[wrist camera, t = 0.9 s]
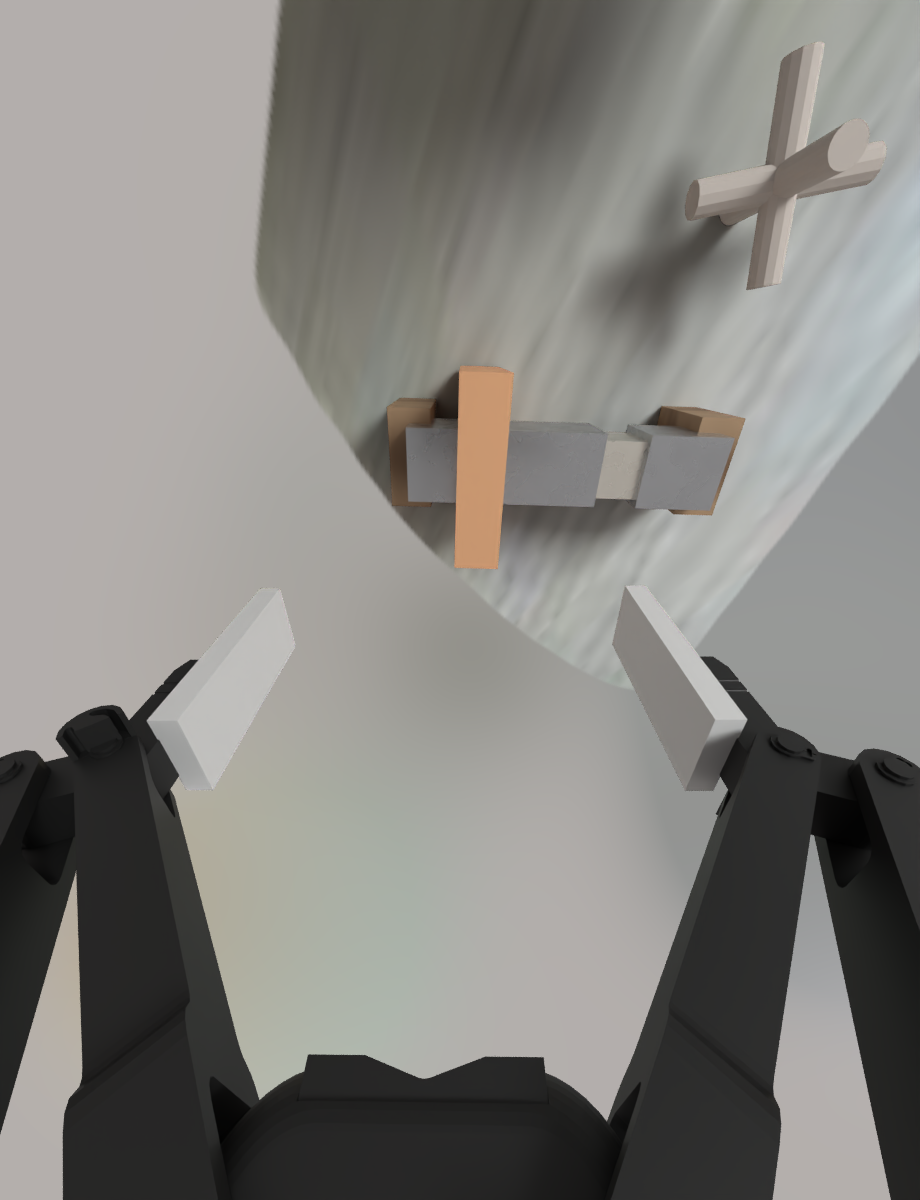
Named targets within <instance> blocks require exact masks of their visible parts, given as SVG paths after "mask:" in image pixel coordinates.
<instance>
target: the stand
mask: <svg viewBox="0 0 920 1200" xmlns="http://www.w3.org/2000/svg"><path fill="white" fill-rule="evenodd" d="M387 417H388V435H389V453H390V471H391V489H392V506H422V507H431V504H432V502H410V501H408V479H407V451H406V427H407V425H408V424H409V423H416V424H431V422H432V419H433V418H436V399H420V398H399V399H398V400H396V401H395V402H394V403H392V404H391V405H389V406H388V407H387ZM744 422H745V418H741V417H736V416H732V415H728V414H723V413H719V412H715V411H710V410H706V409H702V408H697V407H668V406H662V407H661V411H660V415H659V419H658V423H657V425H658V426H680V427H683V428H686V429H689V430H692V431H695V432H698V433H720V434H723V435H727V436H730V437H733V438H735V440H734V443H733V446H732V448H731V451H730V454H729V457H728V460H727V463H726V466H725V469H724V472H723V475H722V477H721V480H720V483H719V486H718V489H717V492H716V495H715V498H714V501H713V504H712V507H711V509H710V511H706V510H673V509H668V510H669V511H670V512H672V513H673V514H685V515H712V514H713V511H714V508H715V505H716V502H717V499H718V496H719V493H720V491H721V488H722V485H723V482H724V479H725V476H726V473H727V471H728V468H729V465H730V462H731V459H732V456H733V453H734V450H735V448H736V445H737V442H738V439H739V436H740V433H741V430H742V428H743V425H744Z"/></svg>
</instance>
